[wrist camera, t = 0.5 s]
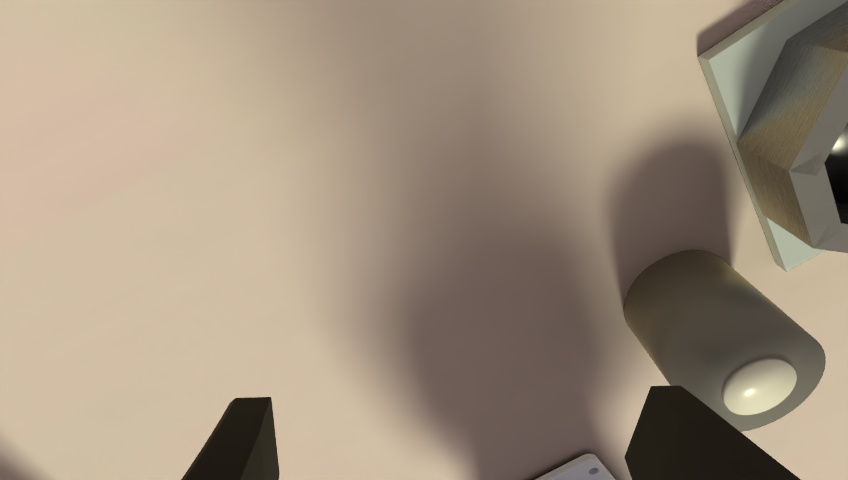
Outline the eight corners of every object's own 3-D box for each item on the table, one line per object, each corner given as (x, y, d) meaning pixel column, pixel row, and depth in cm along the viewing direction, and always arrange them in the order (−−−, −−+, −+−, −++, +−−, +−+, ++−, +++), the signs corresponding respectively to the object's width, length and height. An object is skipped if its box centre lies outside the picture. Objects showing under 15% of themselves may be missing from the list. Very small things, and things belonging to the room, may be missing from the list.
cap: (744, 303, 22) (842, 394, 18) (647, 356, 23) (716, 455, 19) (711, 229, 20) (813, 310, 15) (606, 290, 21) (673, 383, 16)
